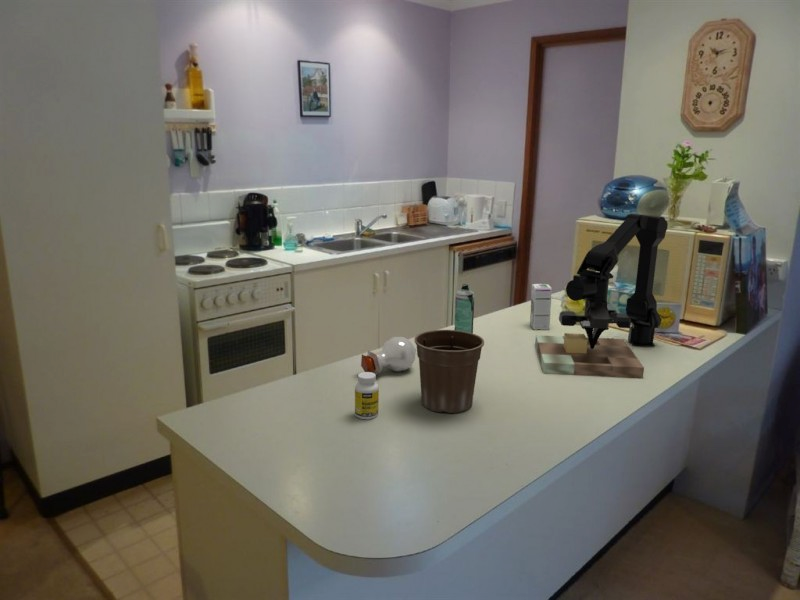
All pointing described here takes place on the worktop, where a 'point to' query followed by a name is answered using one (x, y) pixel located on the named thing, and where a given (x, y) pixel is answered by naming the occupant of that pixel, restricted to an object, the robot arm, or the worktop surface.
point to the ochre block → (575, 343)
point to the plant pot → (448, 368)
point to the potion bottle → (390, 356)
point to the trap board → (588, 358)
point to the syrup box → (540, 306)
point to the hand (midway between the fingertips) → (591, 348)
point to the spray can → (464, 309)
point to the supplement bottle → (366, 396)
